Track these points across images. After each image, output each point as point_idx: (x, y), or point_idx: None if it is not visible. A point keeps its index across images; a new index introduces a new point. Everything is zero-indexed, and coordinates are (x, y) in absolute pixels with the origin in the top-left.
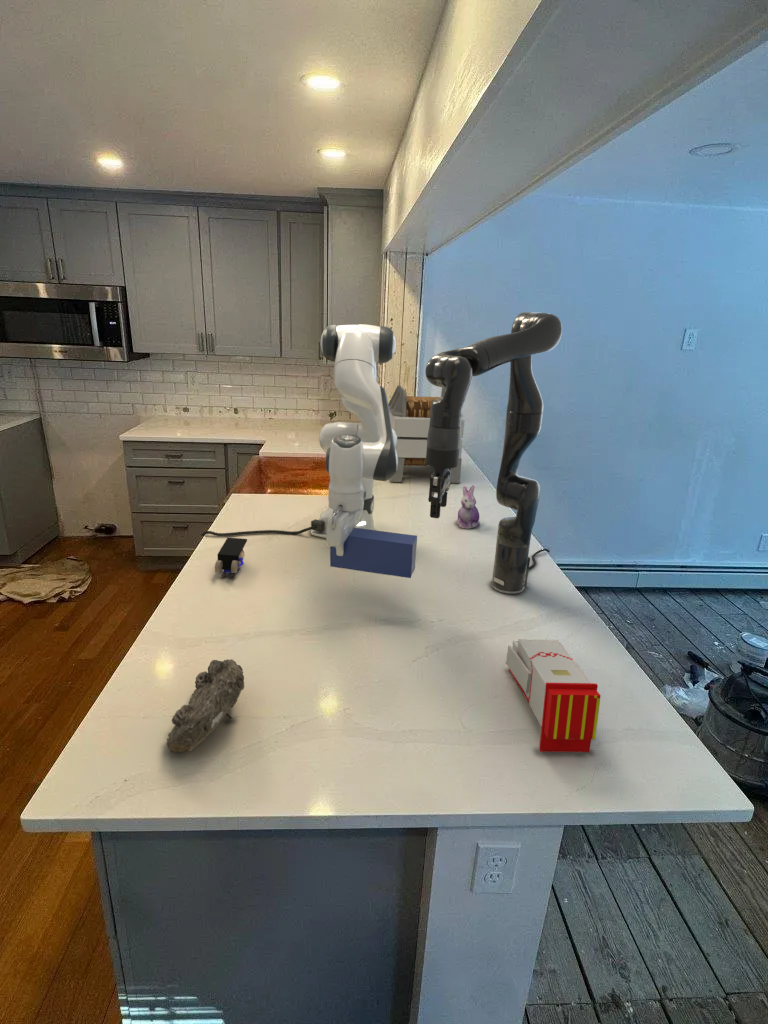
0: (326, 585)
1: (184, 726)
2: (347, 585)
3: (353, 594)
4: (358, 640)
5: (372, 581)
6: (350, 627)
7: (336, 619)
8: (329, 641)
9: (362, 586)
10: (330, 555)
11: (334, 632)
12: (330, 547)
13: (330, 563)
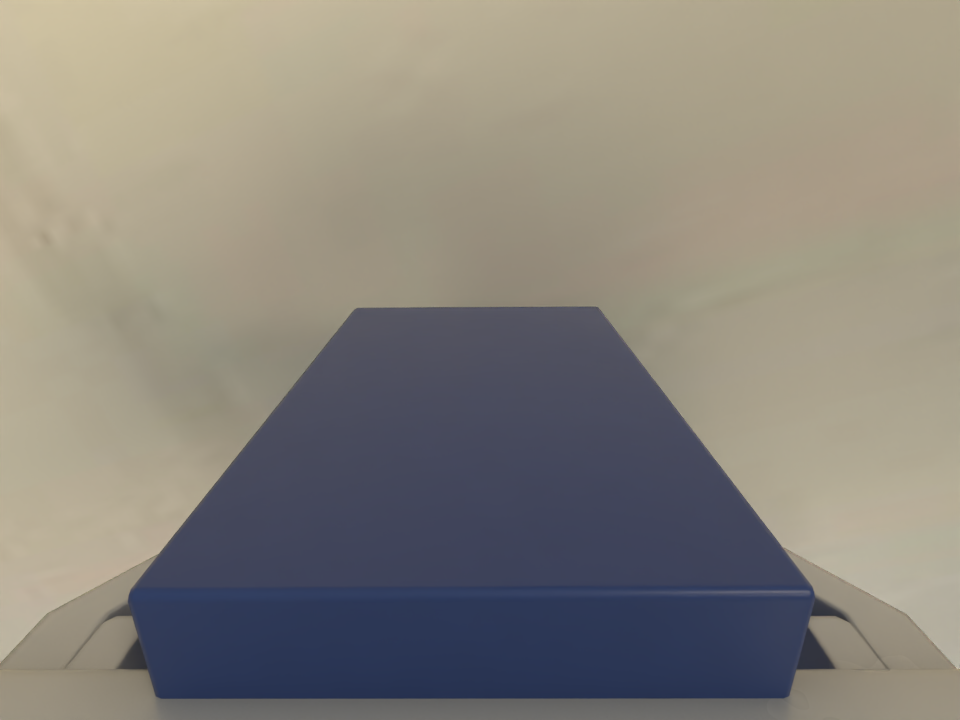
0: (626, 139)
1: None
2: (657, 278)
3: None
4: (110, 493)
5: (739, 405)
6: (198, 430)
7: (238, 341)
8: (23, 374)
9: (662, 368)
10: (320, 355)
11: (112, 371)
12: (279, 405)
13: (347, 321)
